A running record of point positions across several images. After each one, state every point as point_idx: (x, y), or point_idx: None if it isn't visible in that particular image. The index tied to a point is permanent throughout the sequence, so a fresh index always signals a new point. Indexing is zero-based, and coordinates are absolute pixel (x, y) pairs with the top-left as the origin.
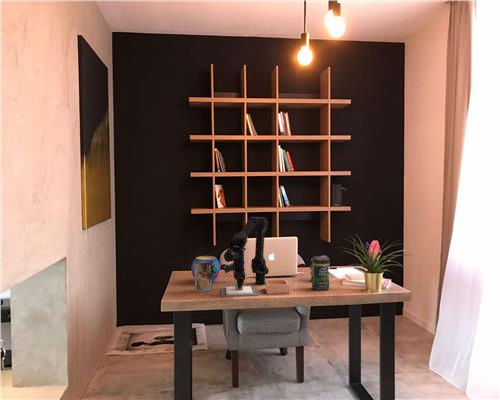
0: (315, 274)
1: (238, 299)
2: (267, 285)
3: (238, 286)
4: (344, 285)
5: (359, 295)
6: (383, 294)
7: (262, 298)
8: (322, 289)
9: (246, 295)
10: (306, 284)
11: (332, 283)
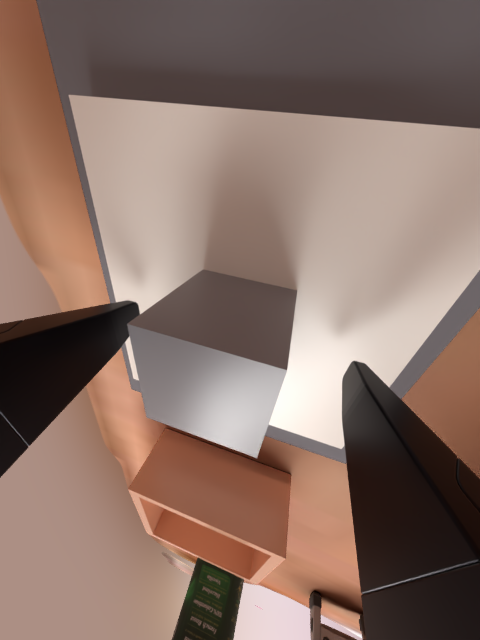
0: (187, 629)
1: (20, 235)
2: (130, 487)
3: (88, 314)
4: None
5: None
6: (163, 552)
7: None
8: None
9: None
10: (298, 569)
11: (281, 588)
